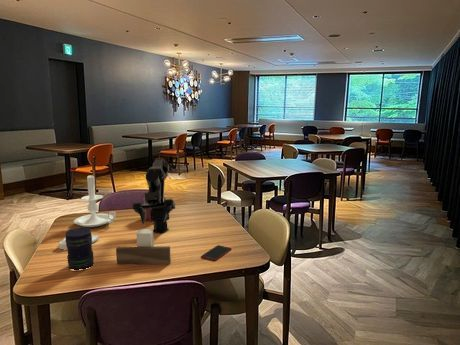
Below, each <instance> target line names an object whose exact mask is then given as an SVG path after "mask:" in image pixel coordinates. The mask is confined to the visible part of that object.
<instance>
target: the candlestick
mask: <svg viewBox="0 0 460 345" xmlns="http://www.w3.org/2000/svg"><path fill="white" fill-rule="evenodd" d="M86 179H87V193H88V195H85V196H82V197H80V200H82V201H88V202H89V203H88V205H87V211H88V212H89V213H90V214H85V215H82V216H80V217H79V216H78V217H77V218H75V219H74V220H73V223H74V224H75V225H77V226H80V227H82V228H97V227H101V226H104V225H105V224H106V225H107V224H113V223H114V220H115V218H116V217H117V216H116V213H117V212H116V211H109V212H108V213H97V212H98V211H99V209H100V208H99V205H98V203H97V200H100V199H103V198H104V195H102V194H96V191H95V190H96V189H95V188H96V183H95V180H96V179H95V176H94V175H90V174H89V175H88V176H87V177H86Z"/></svg>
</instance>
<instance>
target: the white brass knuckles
mask: <svg viewBox="0 0 460 345" xmlns="http://www.w3.org/2000/svg"><path fill="white" fill-rule="evenodd" d="M91 235H92V244H94V243H95V242H97V241H99V240H100V237H99V235H96V234H93V233H91ZM58 247H59V248H60V249H67V246H66V237H64V238H63V240H61V241H59V242H58ZM60 249H59V250H60Z"/></svg>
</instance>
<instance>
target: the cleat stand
mask: <svg viewBox="0 0 460 345" xmlns="http://www.w3.org/2000/svg"><path fill="white" fill-rule="evenodd" d="M115 254H116V255H115V256H116V265H117V264H137V265H170V264H171V262H172V260H171V259H172V258H171V246H169V245H168V246H167V245H166V246H162V245H161V246H154V247H137V246H117V247H116V248H115Z"/></svg>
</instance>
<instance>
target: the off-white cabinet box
mask: <svg viewBox="0 0 460 345" xmlns="http://www.w3.org/2000/svg"><path fill="white" fill-rule="evenodd" d="M153 230H154V228H147V229H145V228H144V229H138V230H137V232H136V233H135V234H136V236H135V237H136V247H155V244H154V242H155V240H154V232H153Z"/></svg>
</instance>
